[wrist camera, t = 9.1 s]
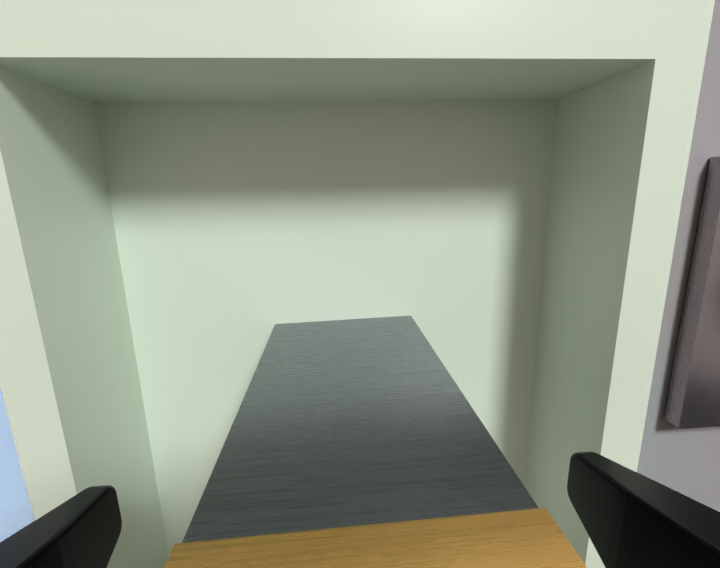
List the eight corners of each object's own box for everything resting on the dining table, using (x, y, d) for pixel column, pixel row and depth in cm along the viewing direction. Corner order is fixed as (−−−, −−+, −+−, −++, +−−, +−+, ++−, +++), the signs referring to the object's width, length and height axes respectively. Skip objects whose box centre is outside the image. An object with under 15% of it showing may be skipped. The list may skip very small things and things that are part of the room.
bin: (529, 573, 15) (597, 704, 11) (160, 606, 14) (96, 763, 10) (579, 68, 11) (715, -2, 7) (65, 67, 10) (-102, -13, 6)
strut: (412, 313, 11) (592, 575, 4) (413, 435, 12) (558, 853, 5) (273, 322, 11) (137, 625, 3) (285, 446, 12) (202, 909, 4)
